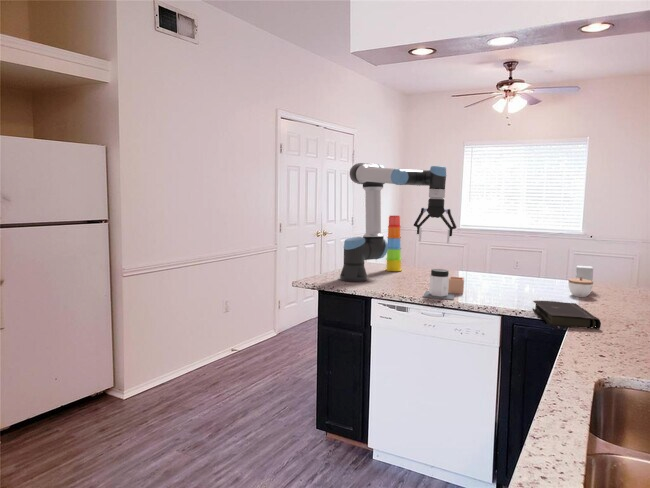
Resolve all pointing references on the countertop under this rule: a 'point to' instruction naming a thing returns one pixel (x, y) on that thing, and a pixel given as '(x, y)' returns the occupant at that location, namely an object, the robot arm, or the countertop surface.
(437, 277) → the jar
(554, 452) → the countertop surface
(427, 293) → the mat
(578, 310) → the diary
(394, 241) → the stacking cups
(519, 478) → the countertop surface
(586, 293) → the lidded jar
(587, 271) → the supplement box
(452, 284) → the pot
